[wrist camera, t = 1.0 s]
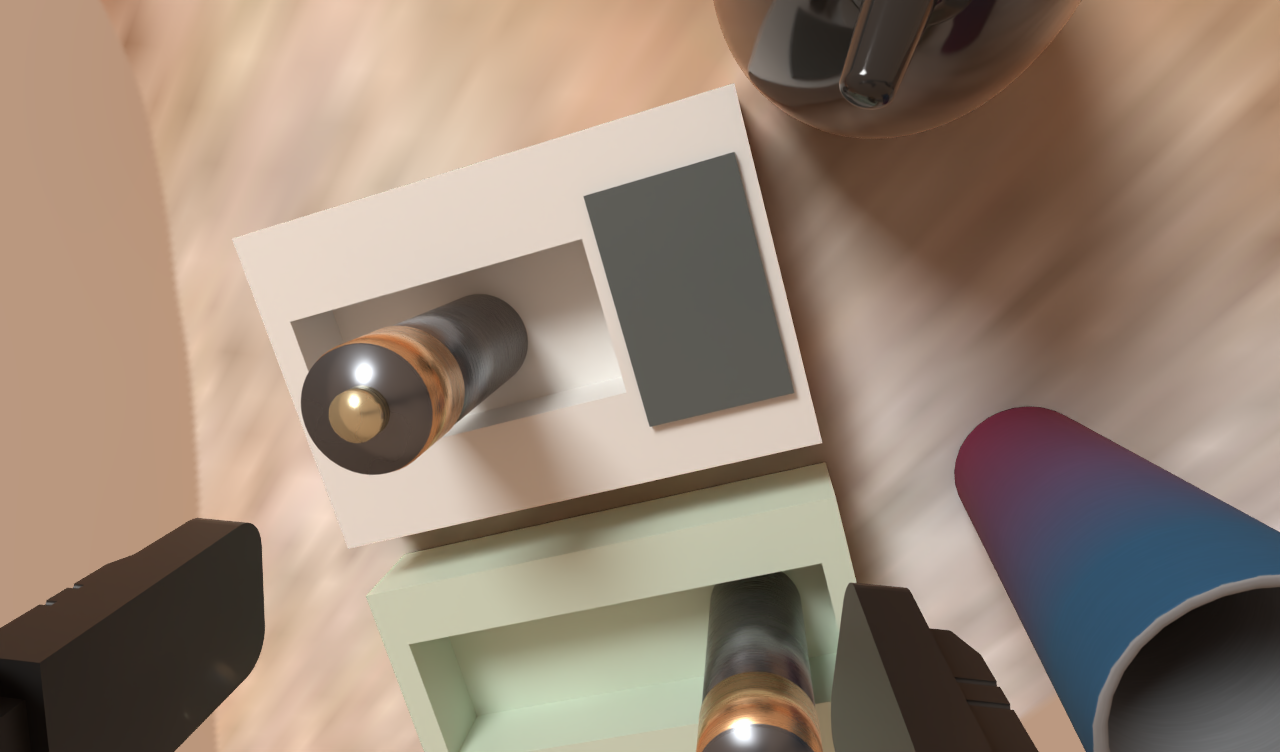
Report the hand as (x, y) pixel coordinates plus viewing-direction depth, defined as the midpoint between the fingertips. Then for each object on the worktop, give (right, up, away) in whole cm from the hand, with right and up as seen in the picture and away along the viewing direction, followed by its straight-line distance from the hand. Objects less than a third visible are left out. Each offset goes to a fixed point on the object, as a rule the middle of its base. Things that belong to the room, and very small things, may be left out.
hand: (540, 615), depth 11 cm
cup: (+16, 0, +20) cm, 25 cm away
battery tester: (-2, +5, +20) cm, 21 cm away
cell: (-5, +5, +20) cm, 21 cm away
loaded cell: (+6, -6, +21) cm, 23 cm away
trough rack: (+1, -7, +23) cm, 24 cm away
